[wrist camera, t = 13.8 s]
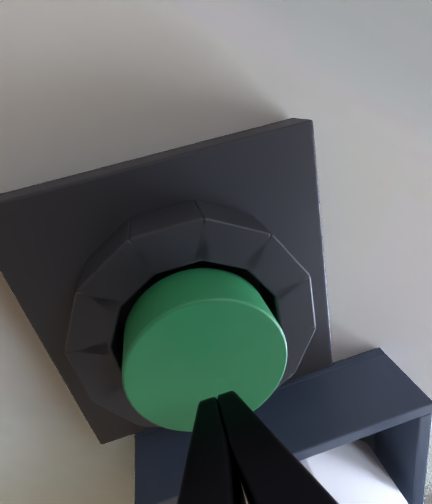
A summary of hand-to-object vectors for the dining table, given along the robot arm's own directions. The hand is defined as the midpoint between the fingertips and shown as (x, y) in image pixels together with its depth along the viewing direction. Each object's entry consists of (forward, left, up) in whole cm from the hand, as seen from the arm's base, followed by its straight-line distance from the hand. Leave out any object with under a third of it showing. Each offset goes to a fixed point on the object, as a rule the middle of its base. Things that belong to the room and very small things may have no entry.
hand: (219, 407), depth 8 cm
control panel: (0, 0, -6) cm, 6 cm away
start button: (0, 0, -3) cm, 3 cm away
